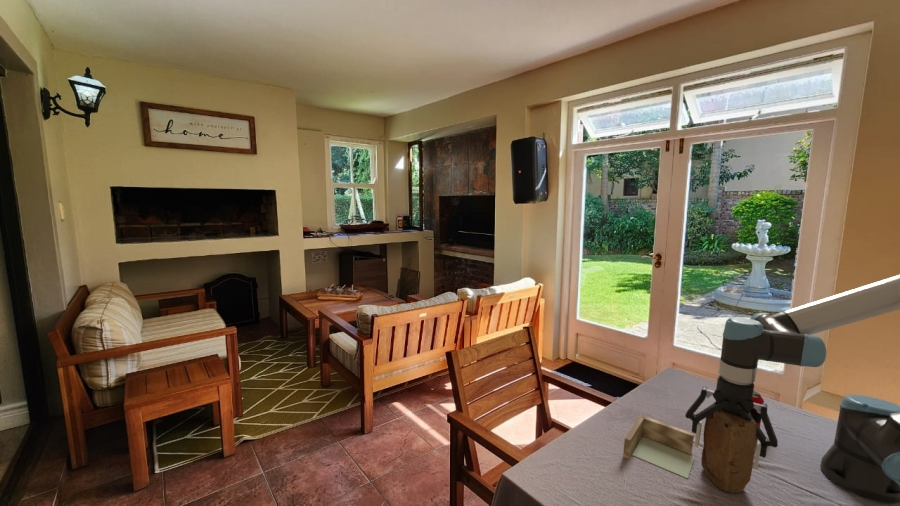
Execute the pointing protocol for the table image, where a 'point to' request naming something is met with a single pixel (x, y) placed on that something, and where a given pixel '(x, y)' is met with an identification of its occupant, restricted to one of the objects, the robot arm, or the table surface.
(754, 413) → the soda can
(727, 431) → the brown sandstone rock
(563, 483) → the table surface
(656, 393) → the table surface
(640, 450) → the pad
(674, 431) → the wooden l-shaped piece
